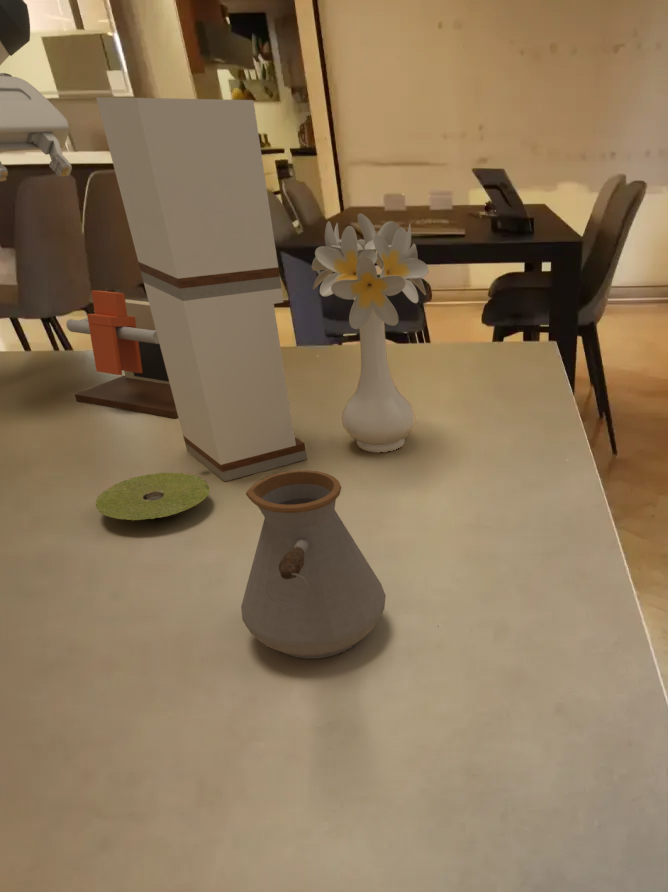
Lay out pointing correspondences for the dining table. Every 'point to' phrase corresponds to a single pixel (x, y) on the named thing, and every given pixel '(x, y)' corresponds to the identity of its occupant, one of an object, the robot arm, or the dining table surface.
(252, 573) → the coffee pot
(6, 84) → the robot arm
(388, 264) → the flower vase
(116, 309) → the clip
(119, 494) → the mat
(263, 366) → the white striped pedestal
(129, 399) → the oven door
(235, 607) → the dining table surface
